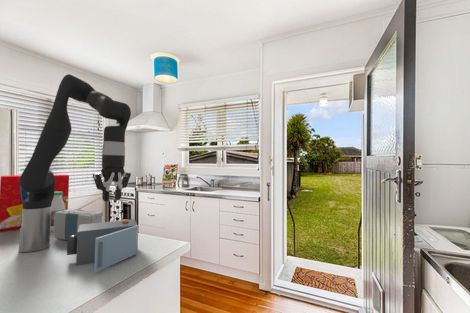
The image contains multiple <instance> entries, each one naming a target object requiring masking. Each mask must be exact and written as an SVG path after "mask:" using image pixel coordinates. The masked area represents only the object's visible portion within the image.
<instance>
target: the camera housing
mask: <svg viewBox="0 0 470 313" xmlns="http://www.w3.org/2000/svg"><path fill="white" fill-rule="evenodd" d="M136 225H138V223H137V221H136V220H135V219H134V218H133V219H125V218H124V219H121V220H113V221H102V222H101V223H91V224H81V225H79V228H78V232H77V235H69V236H68V240H67V243H66V256H73V255H76V259H75V266H80V265H86V264H91V263H95V239H96V238H98V237H101V236H104V235H107V234H111V233H114V232H117V231H120V230H123V229H127V228H130V227H133V226H136ZM136 255H137V254H135V255H134V256H136Z"/></svg>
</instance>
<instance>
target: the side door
mask: <svg viewBox="0 0 470 313" xmlns="http://www.w3.org/2000/svg"><path fill="white" fill-rule="evenodd" d="M138 245H139V225H138V224H137V225H136V226H133V227H130V228H127V229H123V230H120V231H117V232H114V233H111V234H107V235H104V236H101V237H98V238H96V239H95V262H94V264H93V265H94V267H93V269H94V270H93V271H94V272H95V273H97V272H100V271H102V270H103V269H107V268H108V267H110V266H112V265H115V264H117V263H119V262H121V261H124V260H126V259H128V258H131V257H134V256H136V255H137V254H138V248H139V247H138ZM135 254H136V255H135Z"/></svg>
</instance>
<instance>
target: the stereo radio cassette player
mask: <svg viewBox="0 0 470 313" xmlns="http://www.w3.org/2000/svg"><path fill="white" fill-rule="evenodd" d="M99 199H101V197H98V199H95V200H93V201H91V202H88V203H87V204H84V205H83V206H80V207H79V208H75V209H74V208H68V209H67V210H63V211H58V212H55V217H54V231H53V238H54V239H57V240H62V241H63V240H64V241H68V236H69V235H77V232H78V228H79V225H81V224H91V223H101V222H103V215H104V211H97V210H96V211H95V210H87V209H85V210H84V209H82V208H86V207H87V206H89V205H90V204H93V203H94V202H96V201H98V200H99Z"/></svg>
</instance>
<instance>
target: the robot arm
mask: <svg viewBox="0 0 470 313" xmlns="http://www.w3.org/2000/svg"><path fill="white" fill-rule="evenodd" d="M69 98H70V99H72V100H75V101H77V102H80V103H85V104H88V105H89V106H90V107H91V108H92V109H94V110H95V111H97V112H98V114H99V115H100V117H102V118H105V119H107V120H114V121H116V122H115V124H113V125H106V126H105V127H104V129H103V142H102V143H103V144H102V149H101V170H100V172H98V173H93V174H92V178H93V181H94V184H95V187H96V189H97V190H100V191H102V194H101V195H102V201H103V202H109V201H110V187H111V185H112V183H113V184H114V186H115V190H114V200H117V201H119V200H121V198H122V190H123V189H125V188H127V186H128V185H129V184H128V183H130V182H129V181H130V179H131V175H132V173H131V172H126V171H125V169H124V168H125V161H126V145H125V143H126V131H127V128H128V124H129V121H130V118H131V115H132V110H131V107H130V106H129V104H128V103H125V102H122V101H117V100H114V99H112V98H111V97H110V96H108V95H106V94H104V93H102V92H100V91H97V90H96V89H95V88H94V87H93V86H91V84H90V83H88V82H87V81H85V80H83V79H80V78H78V77H77V76H75V75H72V74H65V75H64V76H63V77H62V79H61V81H60V83H59V86H58V88H57V92H56V95H55V98H54V102H53V105H52V107H51V110H50V113H49V114H48V116H47V119H46V121H45V123H44V126H43V128H42V130H41V133H40V135H39V138H38V141H37V143H36V145H35V148H34V150H33V153H32V155H31V158H30V159H29V160H28V163H27V164H26V166H25V168H24V169H23V171H22V173H21V177H20V181H19V183H20V186H21V188H22V189H23V190H24V191H27V192H29V195H28V197H27V198H26V199H25V200H24V202H23V207H22V208H23V209H22V227H21V228H20V230H19V237H18V240H19V241H18V253H31V252H38V251H42V250H45V249H47V248H49V247H50V245H51V231H50V227H51V204H52V200H53V198H54V191H55V176H54V175H55V174H54V172H52V171H51V170H50V168H51V165H52V164H53V162H54V160H55V158H57V156H58V155H59V154H60V153H61V151H62V150H63V149H64V148H65V147H66V145H67V143H68V141H69V138H70V135H71V133H72V123H71V120H70V116H69V113H68V102H69ZM102 178H103V179H102Z"/></svg>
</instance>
